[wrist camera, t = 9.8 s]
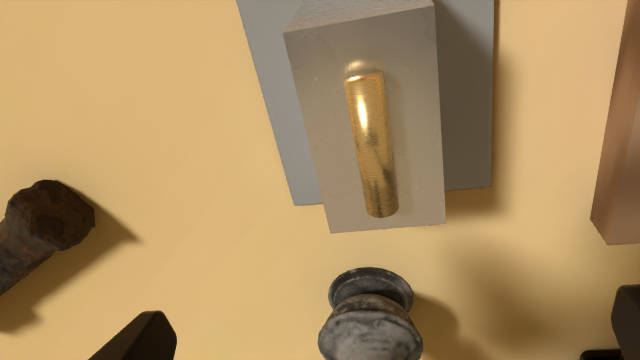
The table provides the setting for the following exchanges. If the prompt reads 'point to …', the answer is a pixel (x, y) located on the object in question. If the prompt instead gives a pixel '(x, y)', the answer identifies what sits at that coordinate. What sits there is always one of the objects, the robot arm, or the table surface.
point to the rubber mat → (454, 91)
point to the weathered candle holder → (370, 318)
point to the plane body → (622, 145)
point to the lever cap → (371, 110)
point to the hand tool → (40, 228)
